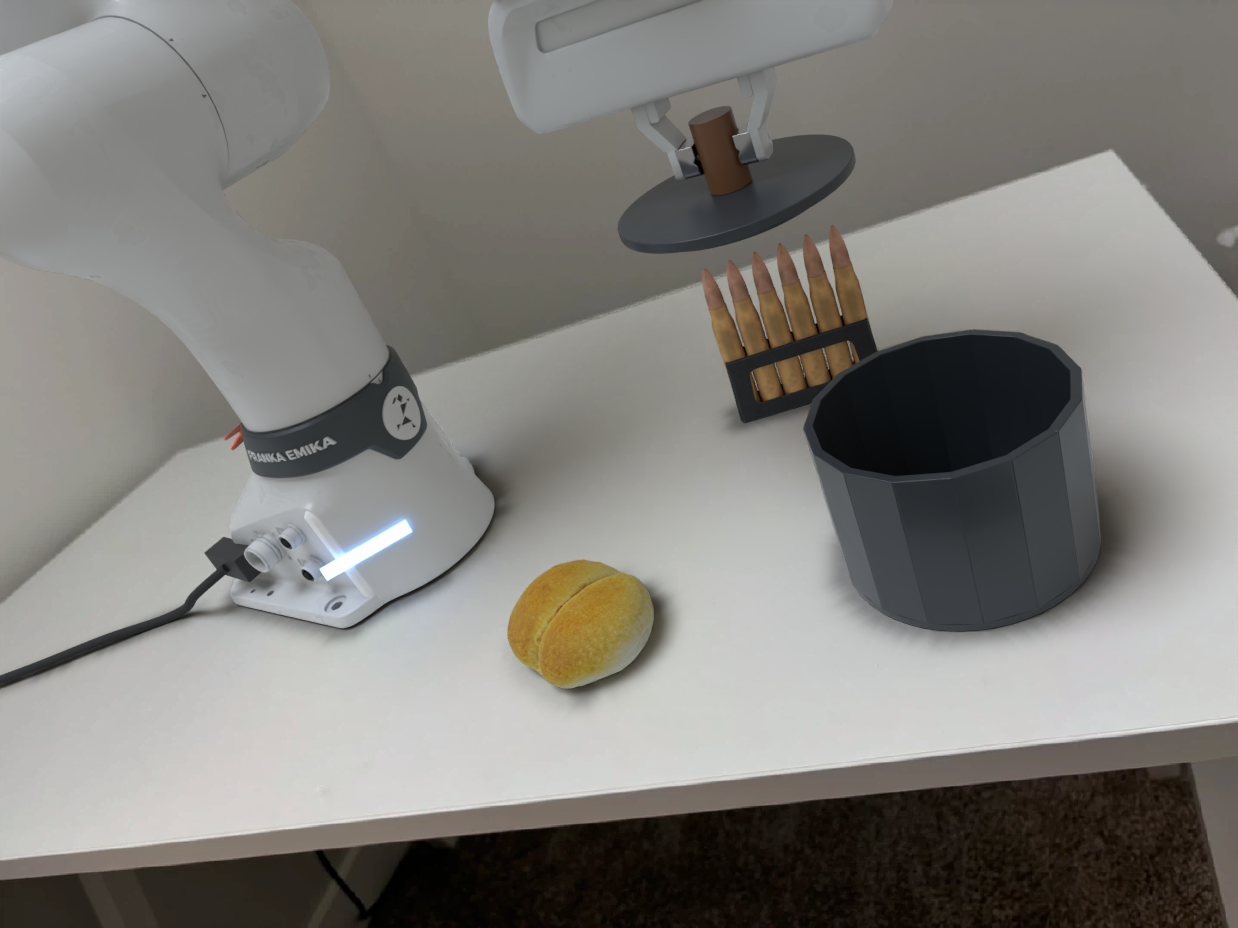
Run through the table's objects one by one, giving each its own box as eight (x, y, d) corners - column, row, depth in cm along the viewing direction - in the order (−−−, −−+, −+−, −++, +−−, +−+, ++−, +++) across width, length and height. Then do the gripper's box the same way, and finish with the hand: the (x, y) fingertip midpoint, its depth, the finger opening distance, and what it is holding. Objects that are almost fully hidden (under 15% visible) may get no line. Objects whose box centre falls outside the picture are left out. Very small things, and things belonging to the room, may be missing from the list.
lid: (590, 282, 51) (553, 192, 49) (665, 185, 61) (638, 105, 58) (834, 234, 45) (807, 127, 42) (875, 134, 55) (855, 42, 52)
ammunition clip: (741, 423, 70) (691, 278, 64) (739, 411, 71) (690, 268, 65) (886, 380, 68) (848, 225, 62) (881, 368, 69) (843, 215, 63)
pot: (828, 631, 50) (781, 490, 45) (865, 479, 59) (829, 349, 55) (1105, 632, 44) (1084, 468, 39) (1097, 461, 53) (1080, 313, 48)
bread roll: (586, 715, 51) (558, 664, 49) (500, 654, 58) (472, 607, 56) (690, 617, 55) (668, 566, 53) (597, 570, 61) (574, 523, 59)
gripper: (870, -210, 42) (927, 98, 49) (495, -54, 52) (587, 184, 59) (847, -195, 38) (913, 142, 45) (440, -27, 47) (547, 228, 54)
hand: (724, 167), depth 52 cm, fingers closed on lid, 2 cm apart
